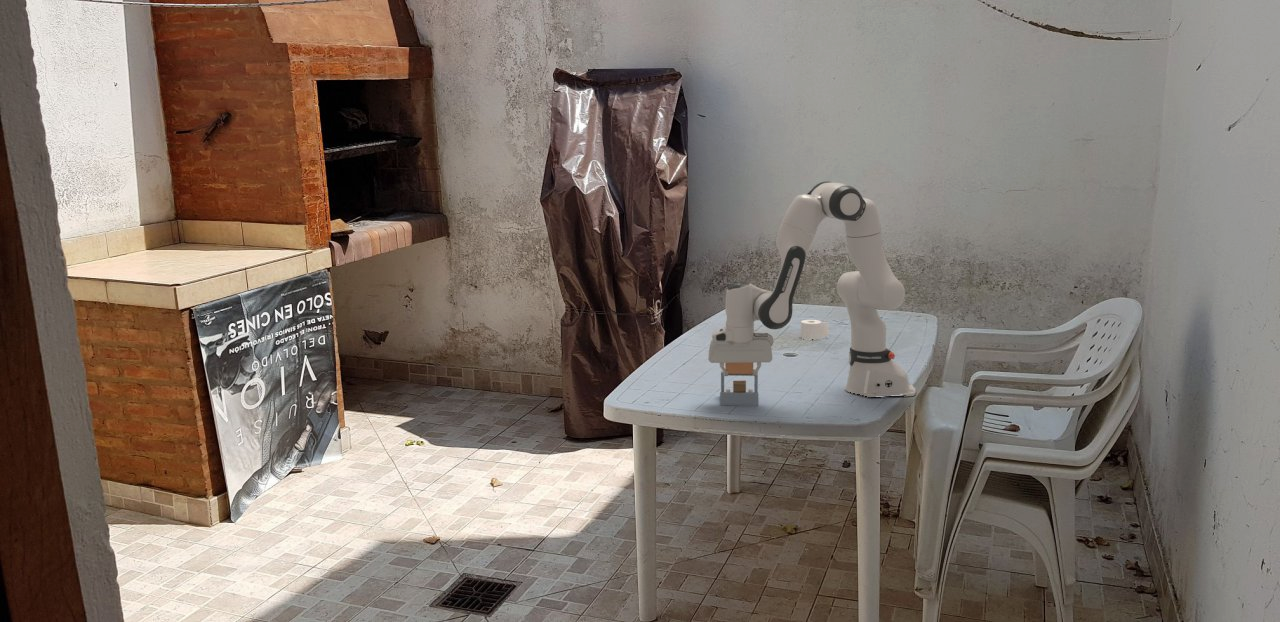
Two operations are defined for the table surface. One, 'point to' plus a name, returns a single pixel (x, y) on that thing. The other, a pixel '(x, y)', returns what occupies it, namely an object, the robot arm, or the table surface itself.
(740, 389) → the block
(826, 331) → the toilet paper
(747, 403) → the housing base
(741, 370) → the lid
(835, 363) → the table surface
